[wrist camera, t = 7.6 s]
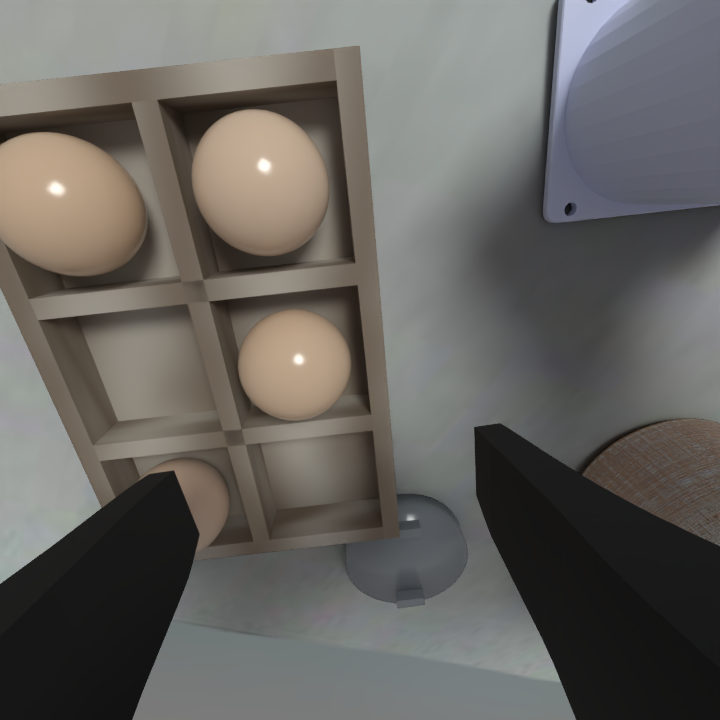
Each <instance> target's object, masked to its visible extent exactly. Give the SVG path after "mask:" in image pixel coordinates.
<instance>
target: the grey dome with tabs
mask: <svg viewBox="0 0 720 720" xmlns="http://www.w3.org/2000/svg"><path fill="white" fill-rule="evenodd" d="M397 507H398V519H399V531H400V537H399V538H390V539H381V540H372V541H363V542H355V543H346V569H347V573H348V576H349V578H350V580H351V581H352V583H353V584H354V585H355V586H356V587H357V588H358V589H359V590H360V591H362V592H363V593H365V594H366V595H368V596H370V597H372V598H374V599H377V600H381V601H385V602H391V603H397V606H398V608H404V607H413V606H421V605H425V599H428V598H431V597H433V596H435V595H437V594H439V593H441V592H443V591H444V590H446V589H447V588H449V587H450V586H451V585H452V584H453V583H454V582H455V581H456V580H457V579H458V578H459V577H460V575H461V574H462V572H463V570H464V568H465V566H466V562H467V555H468V553H467V546H466V542H465V540H464V537H463V534H462V531H461V529H460V526H459V523H458V521H457V519H456V517H455V515H454V514H453V513H452V511H451V510H450V509H449V508H448V507H446V506H445V505H444V504H443V503H441V502H439V501H437V500H435V499H433V498H430V497H426V496H423V495H416V494H399V495H397Z"/></svg>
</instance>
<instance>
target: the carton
mask: <svg viewBox="0 0 720 720" xmlns="http://www.w3.org/2000/svg"><path fill="white" fill-rule="evenodd" d="M246 109H259V110H267V111H271V112H274V113H277V114H280V115H282V116H284V117H286V118H288V119H289V120H291V121H293V122H294V123H295V124H297V125H298V126H299V127H300V128H302V129H303V130H304V131H305V132H306V133H307V134H308V135H309V136H310V138H311V139H312V140H313V142H314V143H315V144H316V146H317V148H318V149H319V151H320V153H321V155H322V157H323V160H324V162H325V165H326V168H327V172H328V178H329V188H330V193H329V203H328V208H327V211H326V215H325V217H324V220H323V222H322V224H321V226H320V227H319V229H318V230H317V232H316V233H315V234H314V235H313V237H312V238H311V239H310V240H309V241H307V242H306V243H305V244H304V245H302V246H301V247H299V248H298V249H296V250H294V251H291V252H289V253H285V254H282V255H277V256H257V255H253V254H249V253H246V252H243V251H241V250H238V249H237V248H235V247H233V246H231V245H229V244H228V243H226V242H225V241H224V240H222V239H221V238H220V237H219V236H218V235H217V234H216V233H215V232H214V231H213V230H212V229H211V228H210V226H209V225H208V224H207V222H206V221H205V219H204V218H203V216H202V214H201V212H200V210H199V208H198V205H197V203H196V200H195V196H194V193H193V187H192V176H191V174H192V163H193V158H194V154H195V151H196V148H197V146H198V144H199V142H200V140H201V138H202V137H203V135H204V134H205V132H206V131H207V130H208V129H209V128H210V127H211V126H212V125H213V124H214V123H215V122H216V121H218V120H219V119H220V118H222V117H224V116H226V115H228V114H230V113H233V112H236V111H241V110H246ZM34 132H53V133H61V134H66V135H70V136H74V137H77V138H80V139H82V140H85V141H87V142H90V143H92V144H94V145H96V146H97V147H99V148H101V149H102V150H104V151H105V152H107V153H108V154H110V155H111V156H112V157H114V158H115V159H116V160H117V161H118V162H119V163H120V164H121V165H122V166H123V167H124V168H125V169H126V170H127V171H128V172H129V174H130V175H131V176H132V177H133V179H134V180H135V182H136V183H137V185H138V187H139V189H140V191H141V193H142V195H143V198H144V201H145V204H146V209H147V216H148V226H147V232H146V236H145V239H144V242H143V244H142V246H141V248H140V249H139V251H138V252H137V253H136V255H135V256H134V257H133V258H132V259H131V260H130V261H128V262H127V263H126V264H124V265H123V266H122V267H120V268H118V269H116V270H113V271H111V272H108V273H105V274H100V275H95V276H68V275H63V274H59V273H54V272H51V271H48V270H45V269H43V268H41V267H38V266H36V265H34V264H32V263H30V262H28V261H27V260H25V259H23V258H22V257H20V256H19V255H18V254H16V253H15V252H14V251H12V250H11V249H10V248H9V247H8V246H7V245H6V244H5V243H4V242H3V241H2V240H1V239H0V288H1V290H2V292H3V294H4V296H5V299H6V301H7V303H8V305H9V307H10V309H11V312H12V314H13V316H14V318H15V320H16V322H17V325H18V327H19V329H20V331H21V333H22V335H23V338H24V340H25V342H26V344H27V346H28V349H29V351H30V353H31V355H32V357H33V359H34V362H35V364H36V366H37V368H38V370H39V372H40V375H41V377H42V379H43V381H44V383H45V385H46V388H47V390H48V392H49V394H50V396H51V398H52V401H53V403H54V405H55V407H56V409H57V411H58V414H59V416H60V418H61V420H62V422H63V425H64V427H65V429H66V431H67V433H68V435H69V438H70V440H71V442H72V444H73V446H74V448H75V451H76V453H77V455H78V457H79V459H80V461H81V464H82V466H83V468H84V470H85V472H86V474H87V477H88V479H89V481H90V483H91V485H92V487H93V490H94V492H95V494H96V496H97V498H98V501H99V503H100V505H101V507H102V508H103V507H104V506H105V505H107V504H108V503H109V502H110V501H112V500H113V499H114V498H116V497H117V496H118V495H120V494H121V493H122V492H124V491H125V490H126V489H128V488H129V487H131V486H132V485H133V484H135V483H136V482H137V481H138V480H139V479H140V477H141V476H142V475H143V474H145V473H146V472H147V471H148V470H150V469H151V468H153V467H154V466H156V465H158V464H160V463H162V462H165V461H167V460H171V459H176V458H195V459H199V460H202V461H204V462H206V463H209V464H210V465H212V466H213V467H214V468H216V469H217V470H218V471H219V472H220V474H221V475H222V476H223V478H224V479H225V481H226V483H227V486H228V489H229V493H230V509H229V514H228V517H227V520H226V523H225V525H224V527H223V529H222V530H221V532H220V533H219V535H218V536H217V537H216V539H215V540H214V541H213V542H212V543H211V544H210V545H209V546H207V547H206V548H205V549H203V550H202V551H200V552H199V553H197V554H195V556H194V560H193V561H196V560H204V559H213V558H222V557H231V556H240V555H249V554H257V553H266V552H275V551H284V550H293V549H302V548H310V547H319V546H328V545H337V544H346V543H355V542H363V541H372V540H381V539H390V538H399V537H400V531H399V519H398V507H397V495H396V483H395V471H394V458H393V446H392V434H391V422H390V410H389V398H388V385H387V373H386V361H385V349H384V337H383V324H382V312H381V300H380V288H379V276H378V264H377V251H376V239H375V227H374V215H373V203H372V190H371V178H370V166H369V154H368V142H367V130H366V117H365V105H364V93H363V81H362V69H361V57H360V46H352V47H343V48H334V49H325V50H315V51H306V52H297V53H287V54H278V55H269V56H260V57H250V58H241V59H232V60H222V61H213V62H204V63H195V64H185V65H176V66H167V67H158V68H148V69H139V70H130V71H120V72H111V73H102V74H93V75H83V76H74V77H65V78H55V79H46V80H37V81H28V82H18V83H9V84H0V145H1V144H2V143H4V142H6V141H7V140H9V139H12V138H14V137H17V136H20V135H23V134H28V133H34ZM285 309H305V310H309V311H312V312H315V313H318V314H320V315H322V316H324V317H325V318H327V319H328V320H329V321H331V322H332V323H333V324H334V325H335V326H336V327H337V328H338V329H339V331H340V332H341V333H342V335H343V336H344V338H345V340H346V342H347V344H348V348H349V351H350V356H351V373H350V378H349V382H348V384H347V387H346V389H345V391H344V393H343V394H342V396H341V397H340V398H339V400H338V401H337V402H336V403H335V404H334V405H333V406H332V407H331V408H330V409H328V410H327V411H325V412H324V413H322V414H320V415H318V416H315V417H313V418H309V419H306V420H295V421H292V420H284V419H279V418H276V417H273V416H271V415H269V414H267V413H265V412H264V411H262V410H261V409H259V408H258V407H257V406H256V405H255V404H254V403H253V402H252V401H251V400H250V398H249V397H248V396H247V394H246V393H245V391H244V389H243V387H242V385H241V381H240V378H239V373H238V357H239V351H240V348H241V345H242V343H243V341H244V339H245V337H246V335H247V334H248V332H249V331H250V329H251V328H252V327H253V326H254V325H255V324H256V323H257V322H259V321H260V320H261V319H262V318H264V317H266V316H267V315H270V314H272V313H274V312H277V311H281V310H285Z"/></svg>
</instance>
